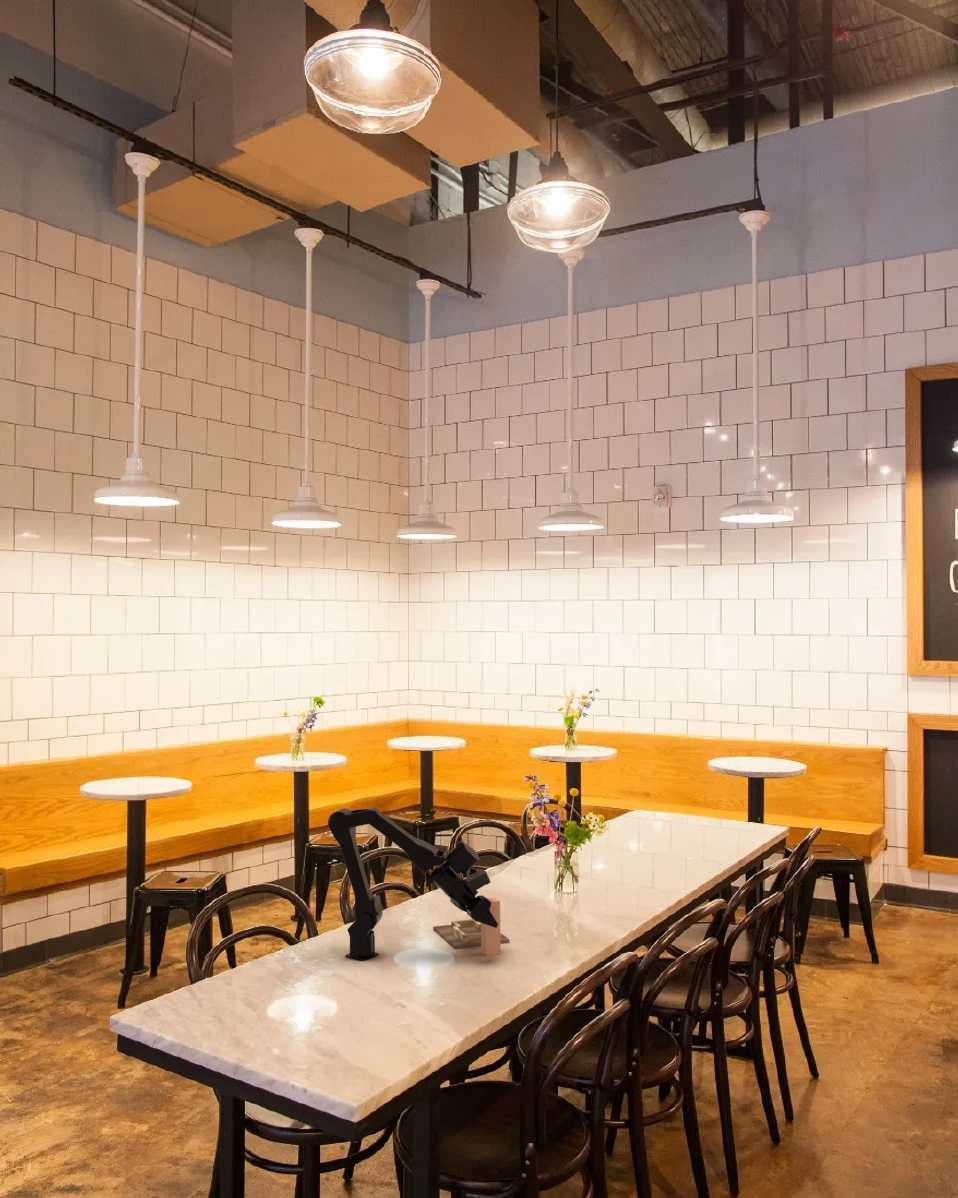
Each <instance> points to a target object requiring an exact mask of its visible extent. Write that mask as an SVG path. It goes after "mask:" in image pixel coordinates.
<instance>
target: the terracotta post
mask: <svg viewBox="0 0 958 1198" xmlns="http://www.w3.org/2000/svg"><path fill="white" fill-rule="evenodd" d="M486 898H487V899H488V900H489V901H490V902H491V907H490V912H491V913H492V915H493V917H494V918H495V920H496V921H497V923H498V926H497V927H496V928H495V927H492V926H489V925H486V924H483V923H481V946H480V947H481V950H480V952H481V953H483V955H485V957H487V956H496V955H501V944H500V933H501V901H500V899H497V897H486Z"/></svg>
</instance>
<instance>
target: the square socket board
mask: <svg viewBox="0 0 958 1198" xmlns="http://www.w3.org/2000/svg"><path fill="white" fill-rule="evenodd" d="M450 922H451V924H443V925H437V926H436V925H434V926H433V927H432V930H433V931H434V933H436V934H437V935H438V936H439V937H440V938H441V939H443V940H444V941H445V942H446V943H447V944H448V945H449V946H451V947H452V948H453V949H454V950H456V949H464V948H466V949H467V948H474V947H481V923H480V922H476V921H475V920H473V919H472V918H471V919H461V920H453V921H452V920H451V921H450ZM508 943H510V938H508V937H507V936H506V935H504V934H503V933H501V932H500V945H501V944H502V945H503V944H508Z"/></svg>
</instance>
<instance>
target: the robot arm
mask: <svg viewBox="0 0 958 1198" xmlns="http://www.w3.org/2000/svg"><path fill="white" fill-rule="evenodd" d="M365 825H370V826H371V827H372V828H374V829H375V830H376V831H377V832H379V833H380V834H381V835H383V836H384V837H386V838H387V839H388V840H389V841H391V842H393V843H394V844H395V845H396V846H398V847H399V848H400V849H402V850H403V852H405V854H406V855H407V857H408V858H409V860H410V861H411V862H412V863H413V864H414V865H415V867H417V868H418V869H419V870H421V871H424V878H425V880H424V881H425V887H429V886H431V884H432V883H434V884H435V885H436V886H437V887H438V888H439V889H440V890H441V891H442V892H443V893H444V894H445V895H446V896H447V897H449V899H450V900H449V901H450V902H451V903H452V905H454V906H455V907H456V908H458V909H459V910H460V911H463V912H465V913H466V914H467V916H468V917H470V918H471V919H473V920H475V921H476V922H480V923H483V924H486V925H489V926H492V927H495V928H496V927H497V926H498V923H497V921H496V920H495V918H494V917H493V915H492V913H491V912H490V907H491V902H490V901H489V900H488V899H487V898H488V897H486V896H484V895H483V894H482V895H478V894H479V891H478V890H479V889H481V888H483V887H484V886H487V885H490V884H491V882H492V881H491V880H490V877H489V875H488V873H487V871H486V870H485V869H482V868H478V869H475V868H474V867H473V866H474V865H476V863H477V862H478V861H480V857H479V854H478V853H477V851H475V849H474V848H473V847H471V846H469V844H467V843H465V841H463V840H460V841H459V842H458V843H457V845H456V846H454V848H453V849H452V850H451V851H445V850H441V849H438V848H437V847H436V846H435V845H433V844H431V843H429V842H427V841H425V840H422V839H419V838H417V837H415V836H414V835H411V834H410V833H409V832H408V831H406V830H405V829H404V828H403V827H401V826H399V825H398V824H397V823H396V822H395V821H393V820H392V819H390V818H389V817H388V816H387V815H385V814H384V813H382V812H381V810H380V809H379V808H377V807H370V808H360V809H359V808H358V809H353V810H351V809H349V808H346V807H344V808H339V809H337V810H335V811H334V812H332V814H330V815H329V817H328V820H327V826H328V828H329V829H330V830H329V831H330V832H331V834H332V837H333V838H334V840H335V841H336V843H337V844H338V845H339V847H340V850H341V853H342V857H343V861H344V863H345V867H346V871H347V874H348V877H349V881H350V885H351V888H352V891H353V895H354V914H355V920H354V921H353V923H352V924H350V926H348V928H347V933H348V935H349V953H346V954H345V955H344V956H345V957H346V958H350V959H353V960H358V961H366V960H368V959H369V960H370V959H371V958H374V957H376V956H379V952H375V951H376V947H375V945H376V943H375V942H376V936H375V930H374V928H375V927H376V926H377V924H379V923H380V921H381V920H382V917H383V910H384V909H385V908H384V906H383V905H382V903H381V896H380V894H377V895H374V894H373V892H372V890H371V888H370V885H369V882H368V881H369V880H368V877H367V875H366V871H365V867H364V864H363V860H362V857H361V853H360V851H359V847H358V844H357V839H356V836H357V827H360V826H361V827H362V826H365ZM433 868H434V869H433ZM431 869H432V870H431ZM429 870H431V871H430V872H425V871H429ZM460 873H461V874H462V875H464V874H466V873H467V875H466V877H465V878H463V877H462V876H460V875H459V874H460Z"/></svg>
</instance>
